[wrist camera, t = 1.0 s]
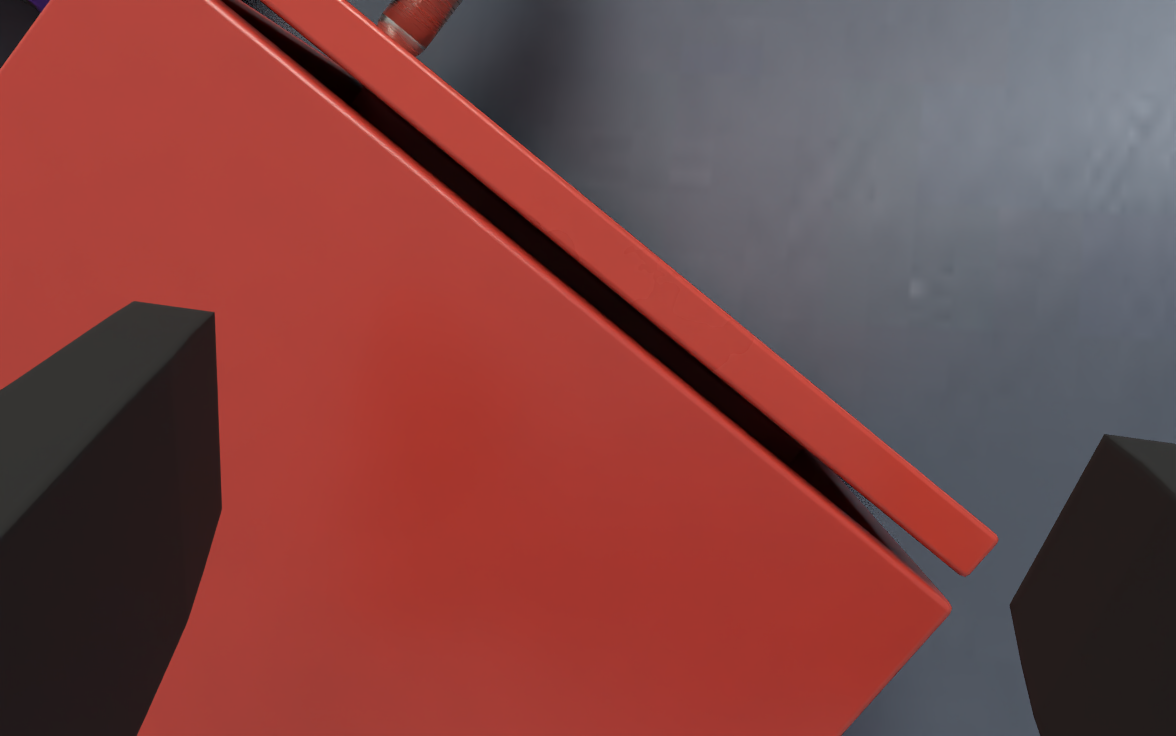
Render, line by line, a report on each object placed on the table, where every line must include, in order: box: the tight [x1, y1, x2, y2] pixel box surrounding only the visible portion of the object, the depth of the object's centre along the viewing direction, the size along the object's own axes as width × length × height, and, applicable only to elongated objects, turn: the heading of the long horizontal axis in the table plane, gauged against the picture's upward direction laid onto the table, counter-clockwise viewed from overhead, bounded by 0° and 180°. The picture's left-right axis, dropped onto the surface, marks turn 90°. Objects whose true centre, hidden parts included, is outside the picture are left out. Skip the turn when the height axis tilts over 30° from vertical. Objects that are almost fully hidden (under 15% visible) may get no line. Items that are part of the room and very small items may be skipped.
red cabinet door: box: [260, 0, 998, 577], centre depth 16 cm, size 12×6×9 cm, turn 51°
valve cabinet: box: [0, 0, 952, 736], centre depth 17 cm, size 12×9×9 cm
